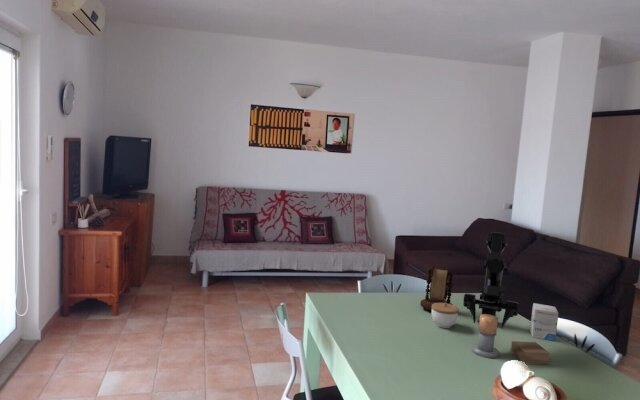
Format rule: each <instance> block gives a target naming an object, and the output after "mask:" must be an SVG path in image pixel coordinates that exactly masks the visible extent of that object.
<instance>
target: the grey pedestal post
mask: <svg viewBox="0 0 640 400" xmlns="http://www.w3.org/2000/svg"><path fill="white" fill-rule="evenodd" d="M496 336H497V333H496V334H487V333H483V332H481V331H479V330H478V342H477V343H474V344H473V345H472V346H471V351H472V353H474V354H475V355H477V356H479V357H482V358H487V359H495V358H498V357H499V353H500V351H499V349H497V347H494V346H495V338H496Z"/></svg>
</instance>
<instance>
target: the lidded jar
mask: <svg viewBox="0 0 640 400" xmlns="http://www.w3.org/2000/svg"><path fill="white" fill-rule="evenodd" d="M451 304H452V303H451ZM451 304H447V303H434V304H432V311H431V310H430V311H431V314H430V315H431V318H432V320H433V322H434V324H435V325H436V327H439V328H443V329H450V328H452V326H454V325H455V324H456V323H457V320H458V316H459V312H460V311H459V310H460V309H459V307H458V306H456V305H454V304H453V305H451Z"/></svg>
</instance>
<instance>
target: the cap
mask: <svg viewBox="0 0 640 400" xmlns="http://www.w3.org/2000/svg"><path fill="white" fill-rule="evenodd" d="M479 320H480V321H479V322H478V323H479V324H478V332H479V331H481V332H483V333H487V334H496V335H497V332H498V324H499V317H497V316H493V315H489V314H480V315H479Z"/></svg>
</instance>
